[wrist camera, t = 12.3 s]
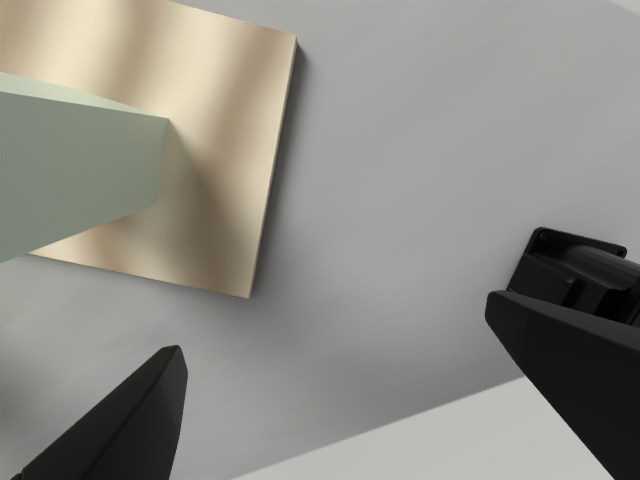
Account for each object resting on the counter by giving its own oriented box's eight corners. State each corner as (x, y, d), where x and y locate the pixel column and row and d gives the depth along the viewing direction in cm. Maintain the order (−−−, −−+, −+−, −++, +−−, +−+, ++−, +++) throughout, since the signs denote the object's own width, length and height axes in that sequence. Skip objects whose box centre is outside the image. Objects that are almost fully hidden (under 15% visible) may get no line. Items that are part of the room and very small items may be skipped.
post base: (297, 42, 17) (289, 7, 13) (251, 290, 22) (234, 328, 17) (-39, -48, 16) (-181, -124, 11) (-10, 236, 21) (-101, 262, 16)
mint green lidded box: (168, 118, 17) (-222, 56, 5) (155, 204, 19) (-165, 325, 6) (74, 88, 17) (-627, -67, 4) (69, 179, 18) (-459, 256, 6)
